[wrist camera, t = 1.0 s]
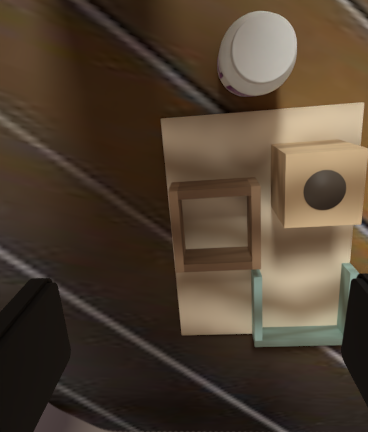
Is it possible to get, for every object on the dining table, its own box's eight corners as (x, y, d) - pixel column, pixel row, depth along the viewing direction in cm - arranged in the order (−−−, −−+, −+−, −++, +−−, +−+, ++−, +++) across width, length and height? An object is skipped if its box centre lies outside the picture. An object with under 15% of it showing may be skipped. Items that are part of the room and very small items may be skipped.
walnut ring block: (171, 182, 33) (168, 191, 29) (254, 176, 32) (260, 186, 29) (178, 256, 35) (176, 272, 32) (255, 253, 35) (261, 269, 31)
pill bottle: (290, 64, 29) (328, 49, 20) (243, 109, 31) (260, 113, 22) (249, 15, 28) (270, -24, 19) (203, 63, 30) (203, 48, 21)
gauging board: (161, 118, 32) (157, 120, 29) (360, 102, 30) (376, 103, 27) (182, 330, 39) (180, 348, 37) (340, 326, 38) (351, 344, 35)
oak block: (271, 144, 31) (286, 154, 25) (338, 139, 31) (368, 148, 25) (270, 206, 33) (284, 228, 27) (333, 202, 32) (361, 224, 27)
